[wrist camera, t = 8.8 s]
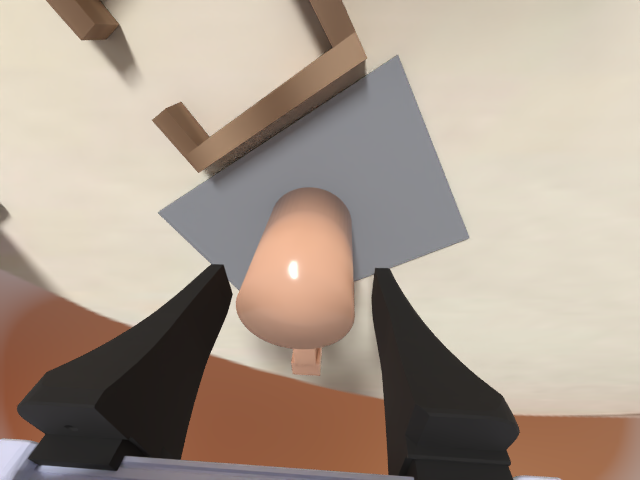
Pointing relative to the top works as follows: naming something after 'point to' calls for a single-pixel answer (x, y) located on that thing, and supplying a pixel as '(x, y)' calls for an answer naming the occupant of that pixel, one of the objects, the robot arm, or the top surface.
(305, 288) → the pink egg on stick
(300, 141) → the mat
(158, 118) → the holder
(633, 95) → the top surface
